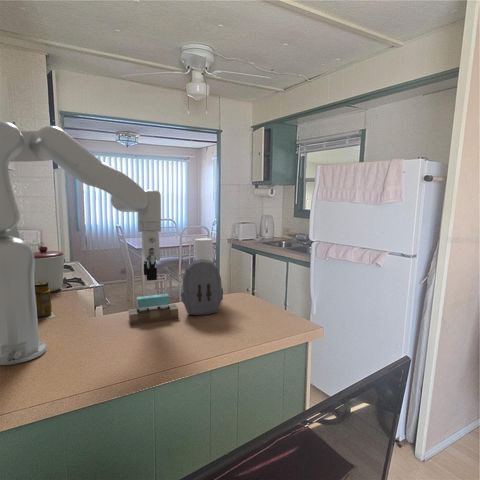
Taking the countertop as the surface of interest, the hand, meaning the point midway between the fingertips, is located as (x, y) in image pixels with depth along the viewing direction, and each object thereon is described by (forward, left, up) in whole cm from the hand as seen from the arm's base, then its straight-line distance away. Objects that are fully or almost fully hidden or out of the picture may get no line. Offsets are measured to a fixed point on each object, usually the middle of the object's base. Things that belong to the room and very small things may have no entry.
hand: (150, 277), depth 116 cm
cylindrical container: (+17, -24, -15) cm, 33 cm away
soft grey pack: (-2, -18, -15) cm, 23 cm away
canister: (+61, +41, -15) cm, 75 cm away
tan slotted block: (0, -1, -15) cm, 15 cm away
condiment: (+19, +36, -15) cm, 44 cm away
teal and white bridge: (0, -1, -15) cm, 15 cm away
